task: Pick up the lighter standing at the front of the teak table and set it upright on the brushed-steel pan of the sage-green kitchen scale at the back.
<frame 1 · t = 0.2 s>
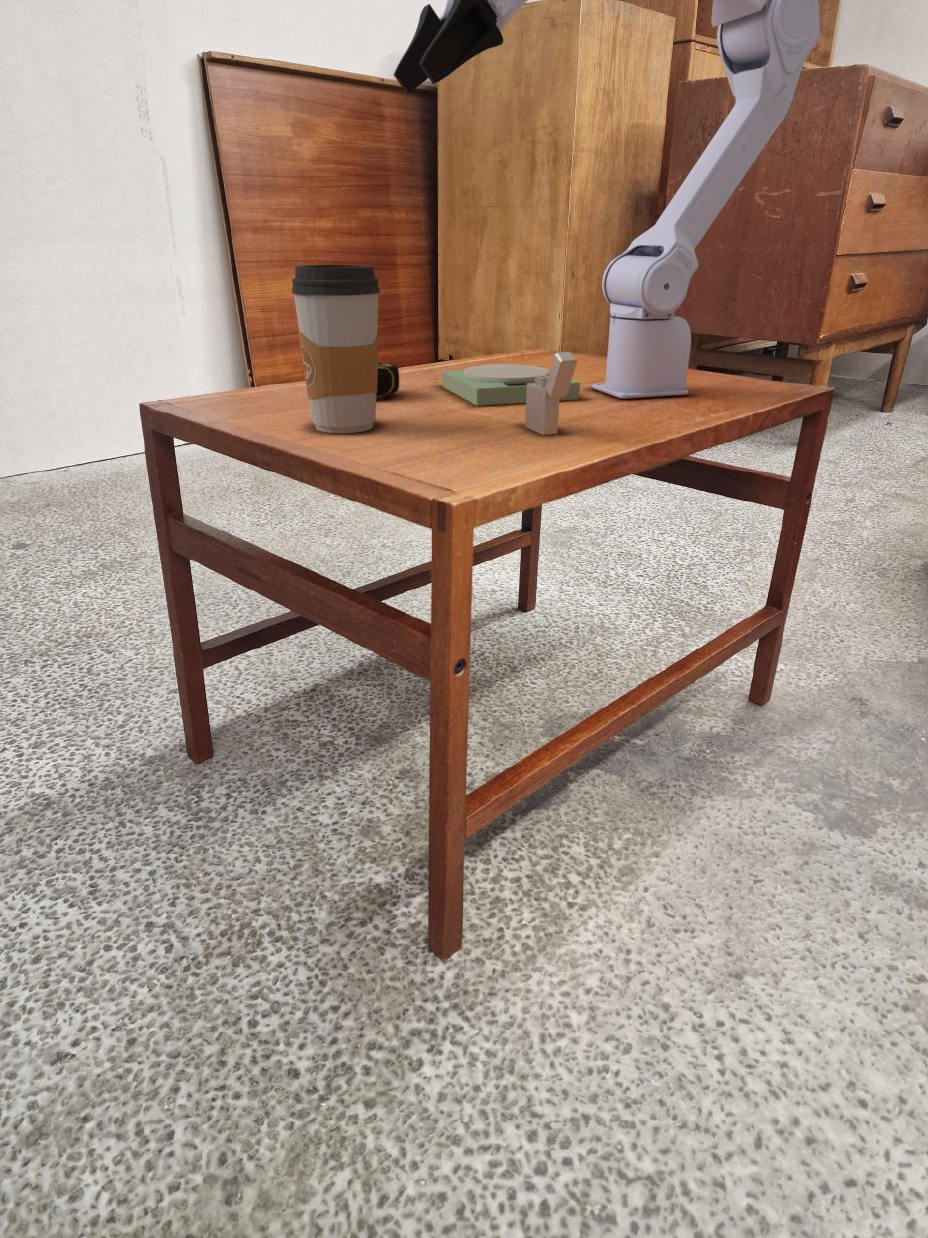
hand: (413, 78, 77), 31 cm above the table, tool tilted 45°, fingers open, 7 cm apart
scale: (508, 393, 99), on the table
lighter: (547, 434, 80), on the table
coffee cup: (344, 428, 82), on the table
tape measure: (367, 397, 97), on the table
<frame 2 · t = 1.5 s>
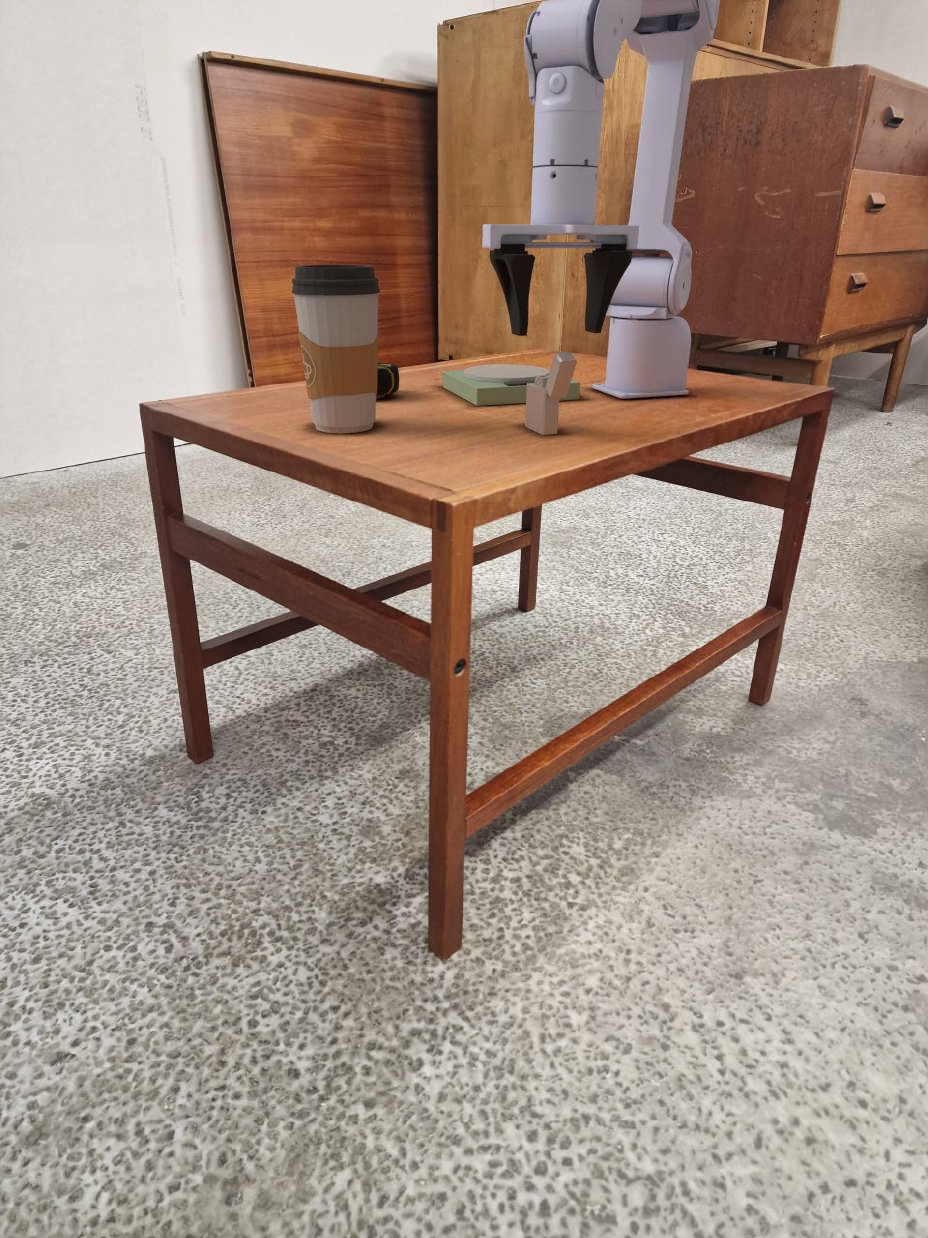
hand: (556, 333, 76), 9 cm above the table, tool pointing down, fingers open, 7 cm apart
nothing on the table moved.
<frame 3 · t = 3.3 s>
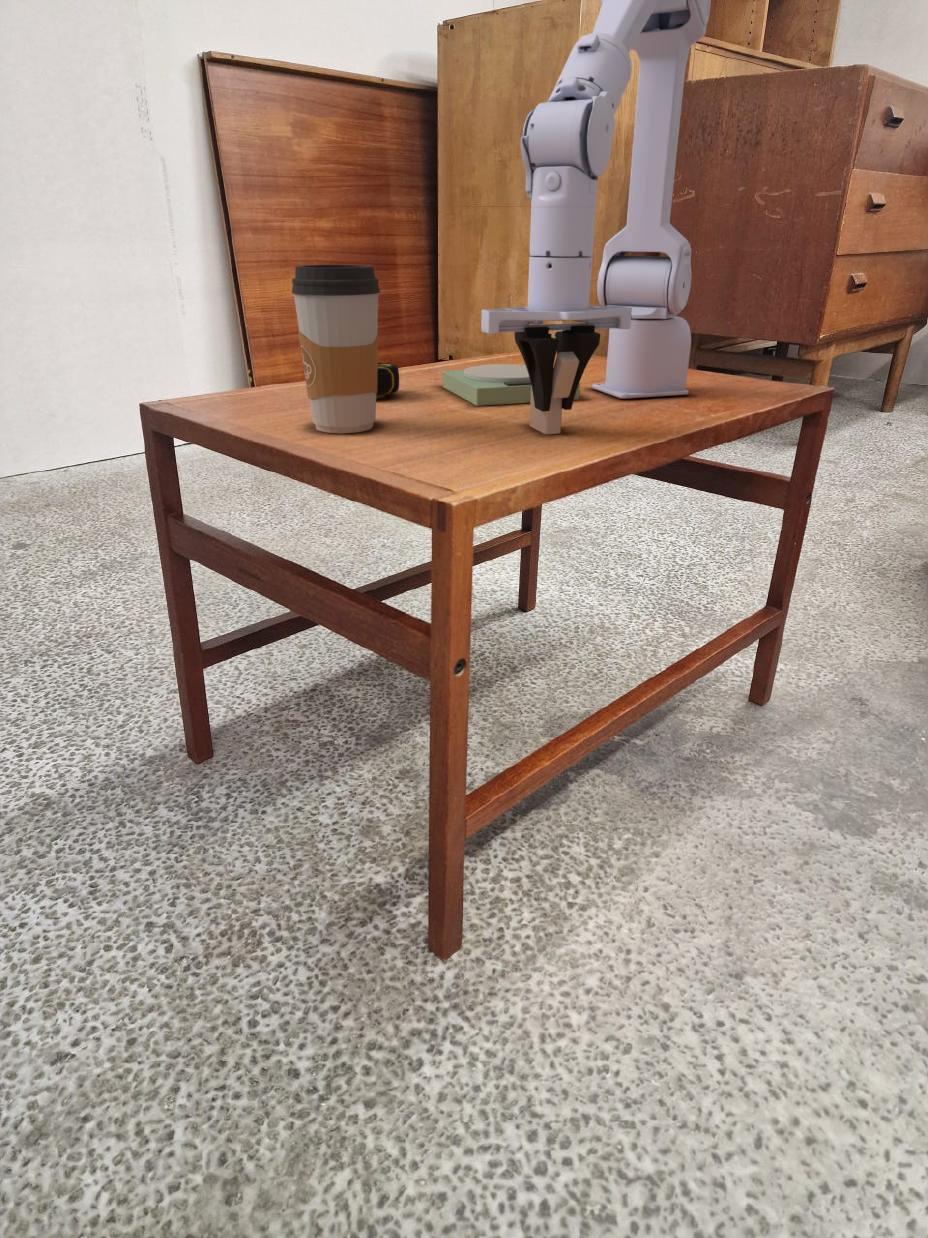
hand: (552, 408, 79), 2 cm above the table, tool pointing down, fingers closed on lighter, 2 cm apart
lighter: (550, 434, 80), on the table, touching gripper
everything else where it was.
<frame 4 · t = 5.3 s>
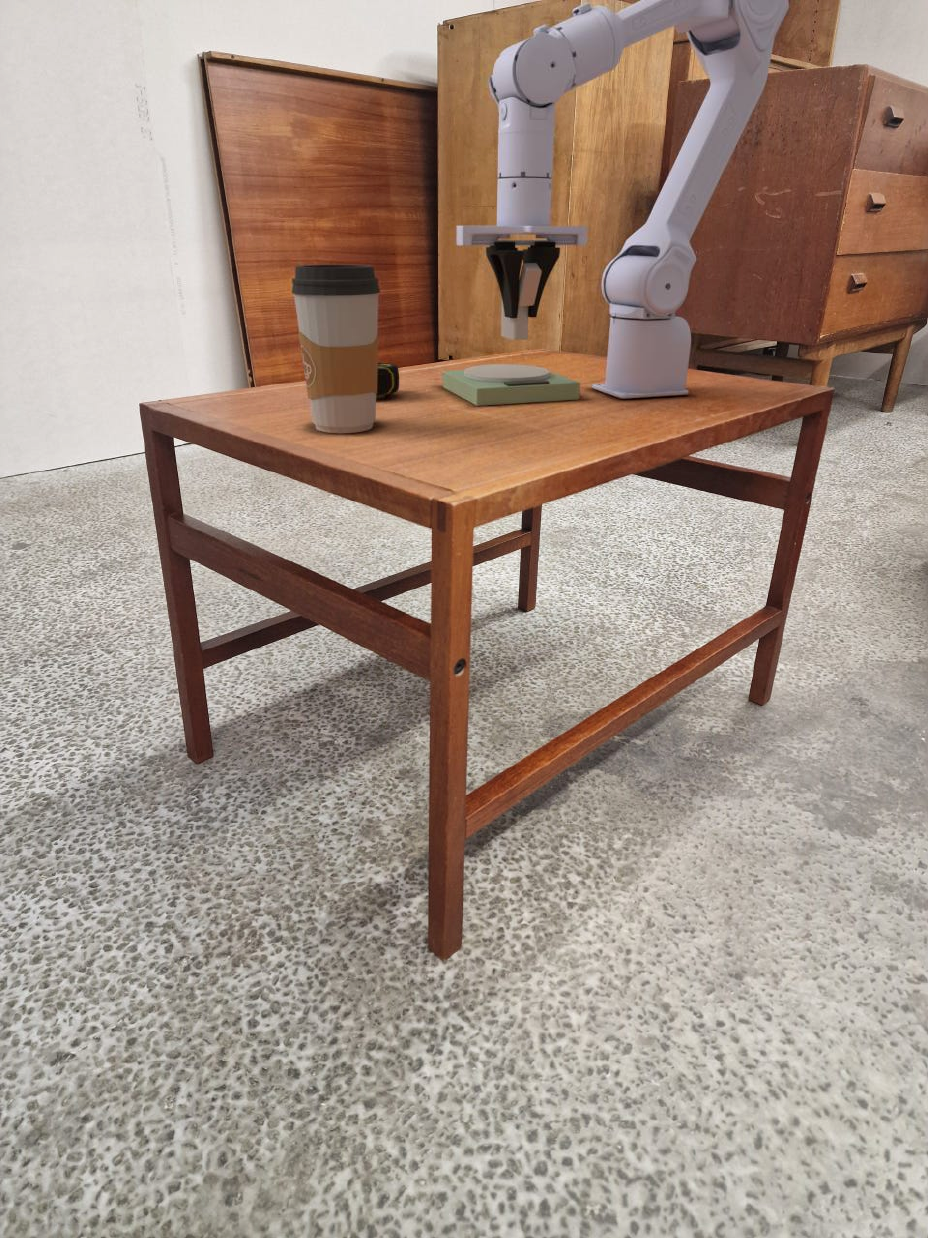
hand: (520, 317, 90), 9 cm above the table, tool pointing down, fingers closed on lighter
lighter: (519, 340, 91), point 7 cm above the table, touching gripper
everything else where it was.
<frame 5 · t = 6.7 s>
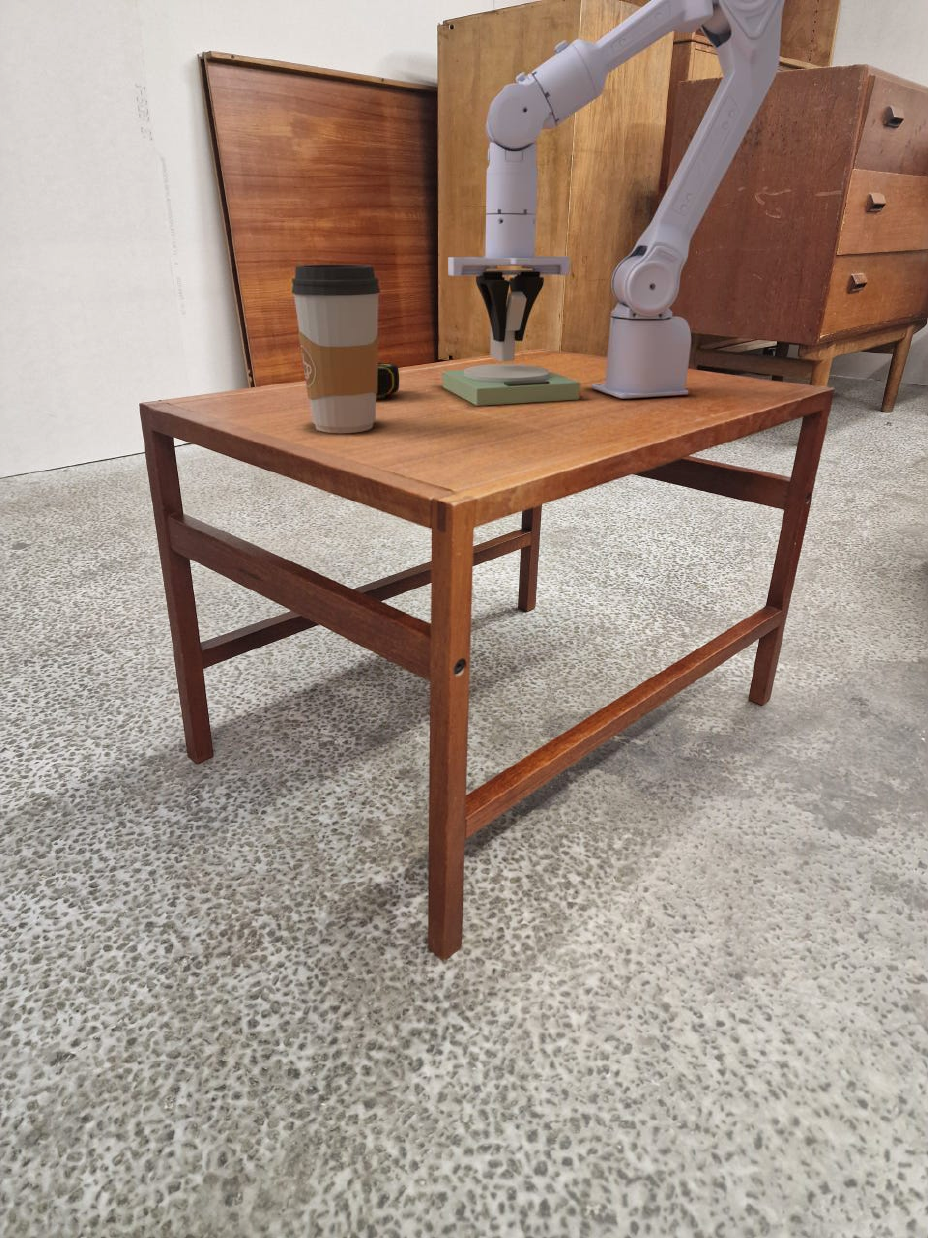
hand: (507, 340, 97), 6 cm above the table, tool pointing down, fingers closed on lighter, 2 cm apart
lighter: (506, 362, 98), point 4 cm above the table, touching gripper
everything else where it was.
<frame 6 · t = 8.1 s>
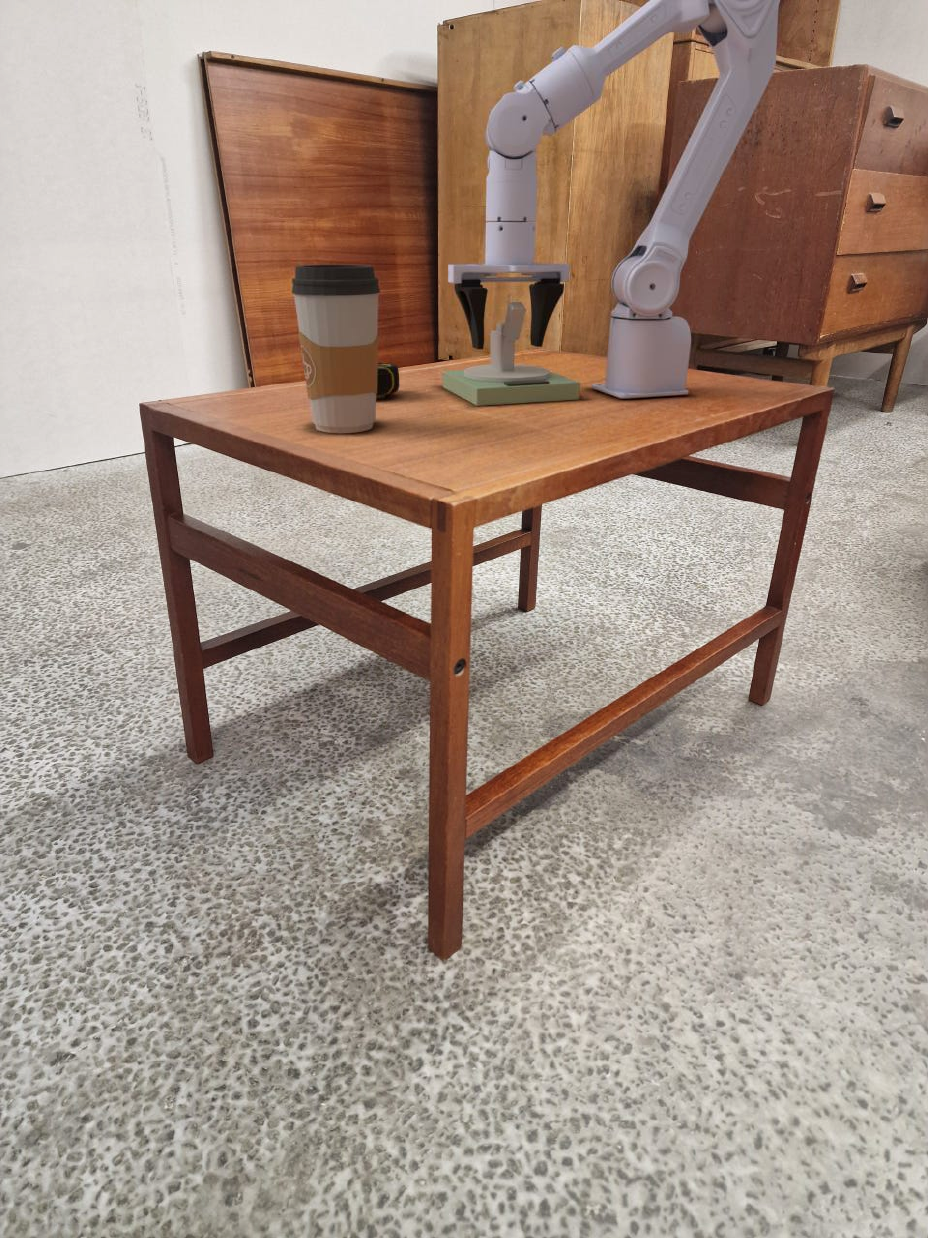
hand: (507, 346, 97), 5 cm above the table, tool pointing down, fingers open, 7 cm apart
lighter: (506, 371, 99), point 2 cm above the table, touching scale
everything else where it was.
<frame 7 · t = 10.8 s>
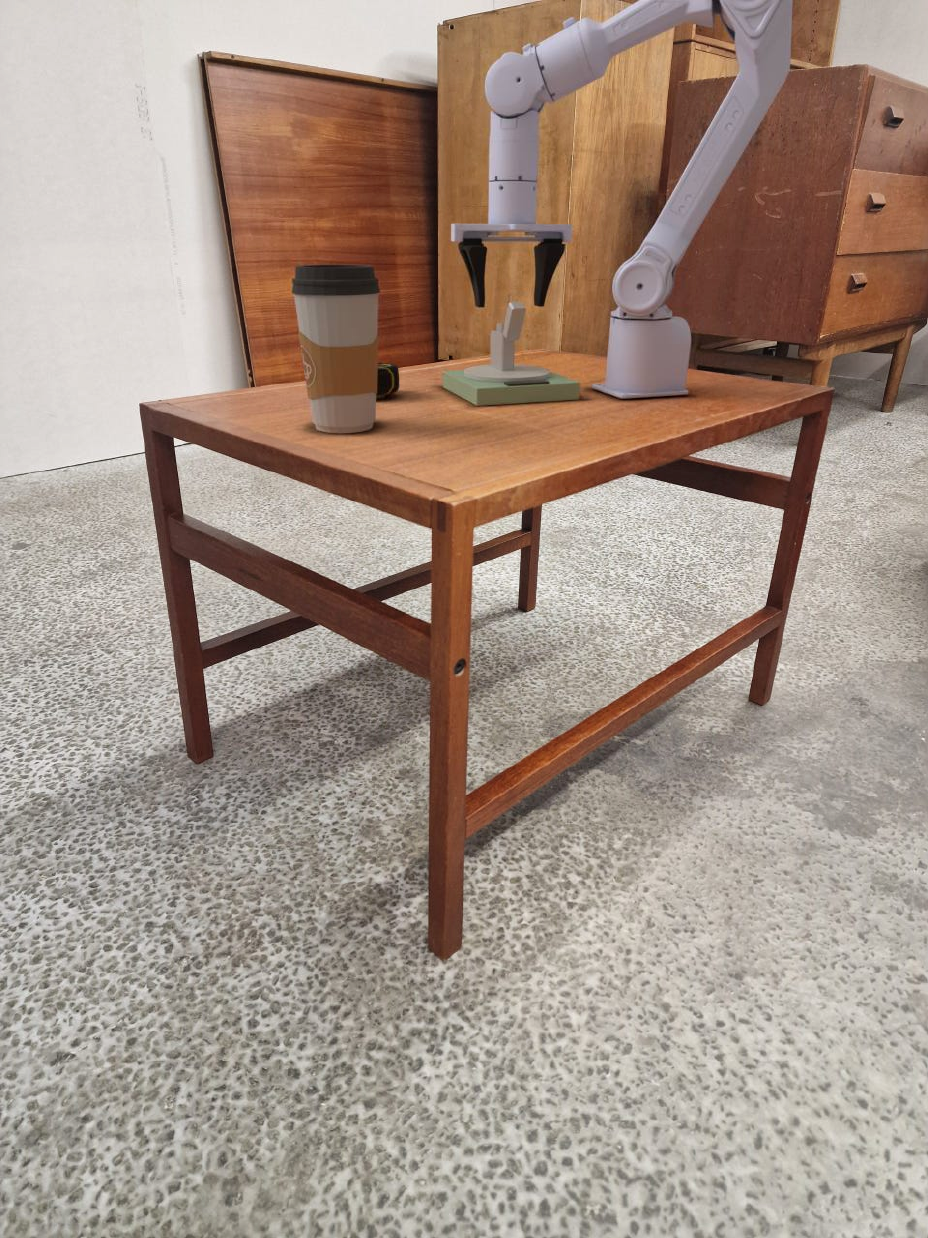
hand: (509, 306, 100), 10 cm above the table, tool pointing down, fingers open, 7 cm apart
nothing on the table moved.
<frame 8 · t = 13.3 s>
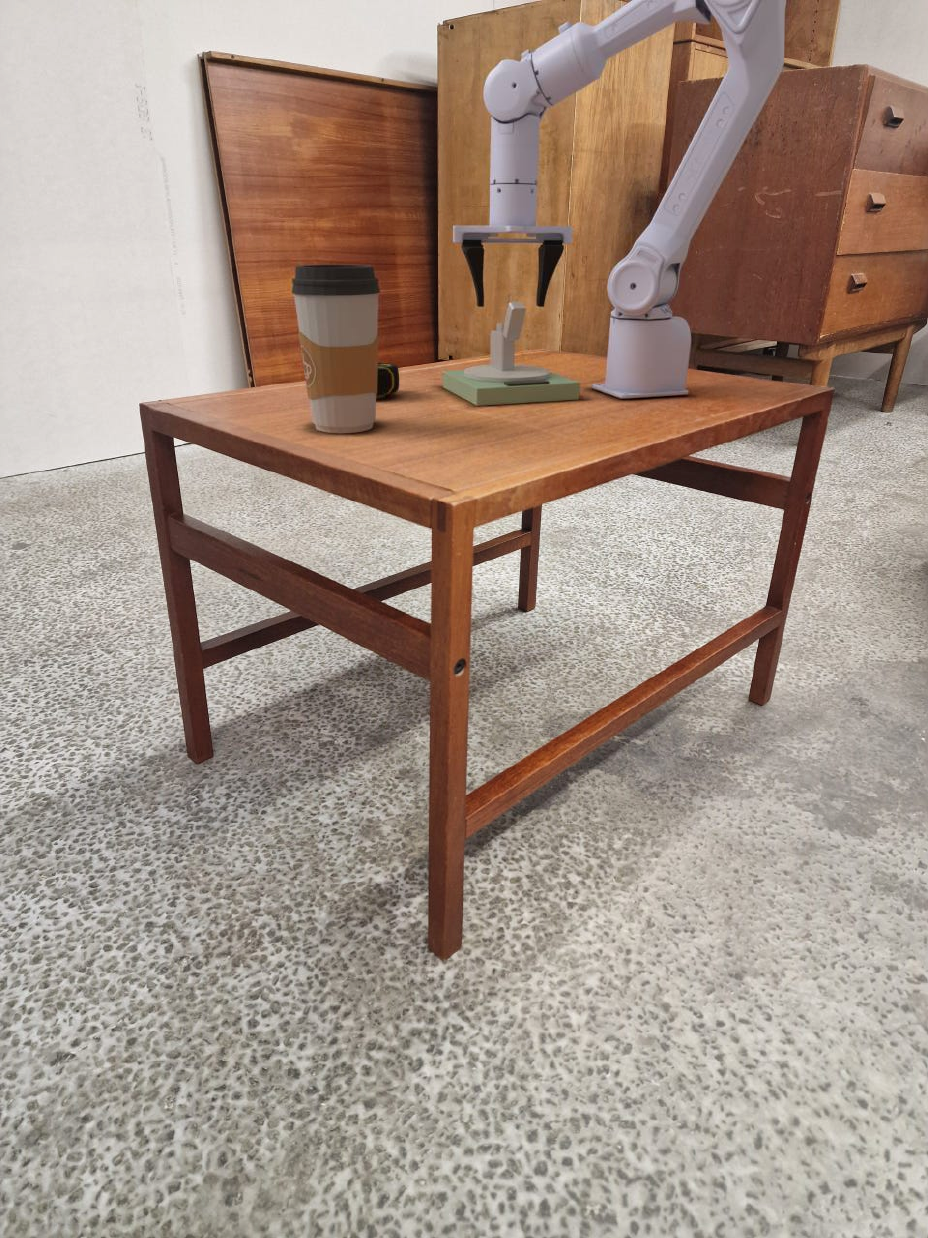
hand: (510, 306, 102), 9 cm above the table, tool pointing down, fingers open, 7 cm apart
nothing on the table moved.
at the end: lighter inside the target area on the scale (0.2 cm from its centre), point 2.4 cm above the scale's base; lighter tilted 0° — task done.
